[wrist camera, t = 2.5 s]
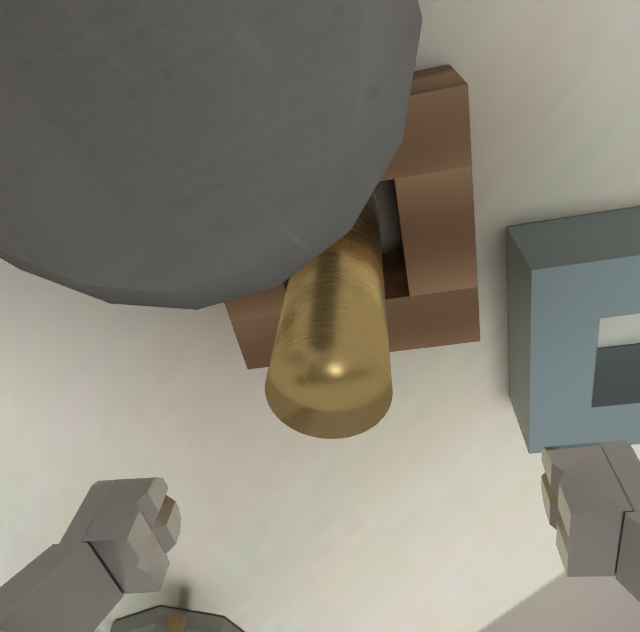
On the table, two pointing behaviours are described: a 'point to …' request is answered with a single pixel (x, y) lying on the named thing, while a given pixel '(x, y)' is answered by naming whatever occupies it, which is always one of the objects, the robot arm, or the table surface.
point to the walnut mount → (410, 233)
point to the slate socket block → (573, 328)
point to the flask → (193, 138)
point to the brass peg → (334, 339)
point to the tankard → (173, 622)
